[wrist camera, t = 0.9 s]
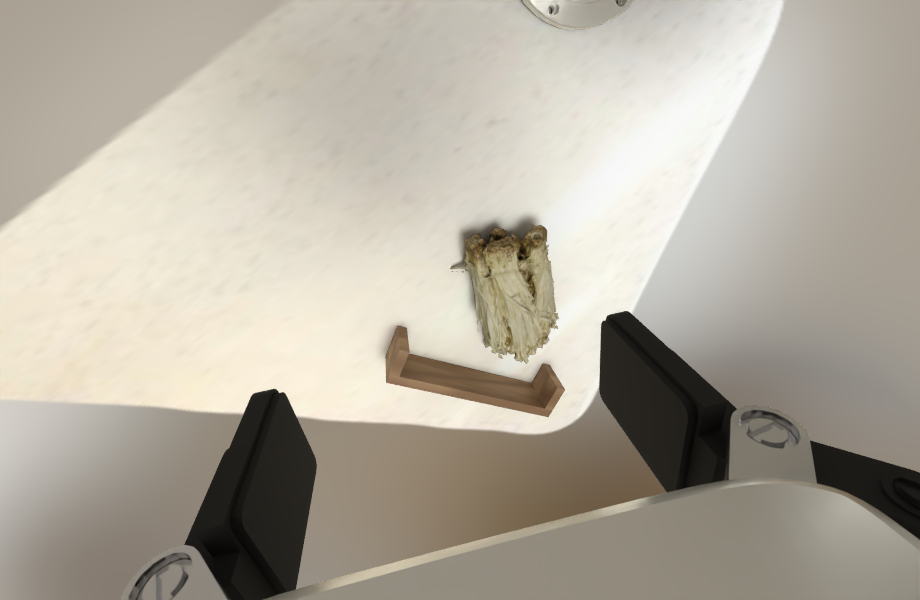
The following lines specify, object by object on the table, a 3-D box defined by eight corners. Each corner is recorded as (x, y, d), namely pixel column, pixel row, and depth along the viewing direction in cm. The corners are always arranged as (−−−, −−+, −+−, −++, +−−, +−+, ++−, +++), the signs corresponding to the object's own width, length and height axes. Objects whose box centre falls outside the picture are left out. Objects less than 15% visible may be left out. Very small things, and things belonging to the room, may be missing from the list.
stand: (397, 325, 42) (399, 349, 38) (549, 365, 48) (565, 389, 44) (385, 356, 44) (386, 382, 40) (534, 391, 50) (548, 417, 46)
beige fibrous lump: (443, 235, 39) (452, 255, 34) (538, 209, 39) (559, 225, 35) (473, 353, 46) (484, 383, 41) (553, 330, 46) (574, 356, 42)
